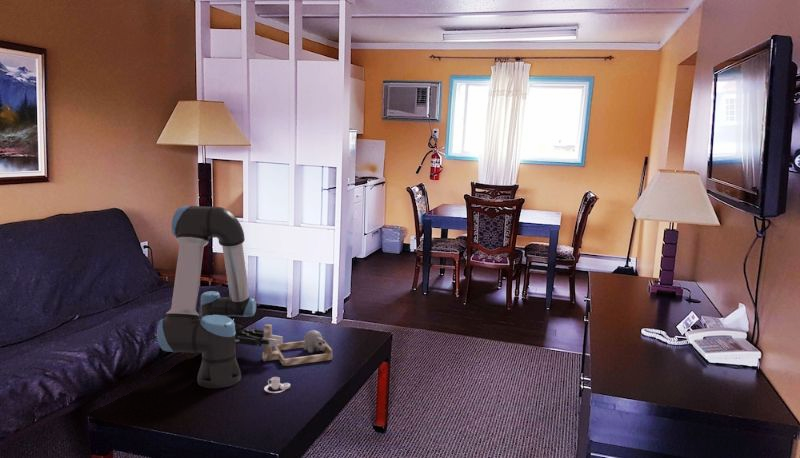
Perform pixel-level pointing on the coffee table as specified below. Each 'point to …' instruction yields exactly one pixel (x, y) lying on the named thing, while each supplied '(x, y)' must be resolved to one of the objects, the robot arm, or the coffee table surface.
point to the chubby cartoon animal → (314, 341)
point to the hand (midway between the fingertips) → (279, 341)
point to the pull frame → (276, 354)
